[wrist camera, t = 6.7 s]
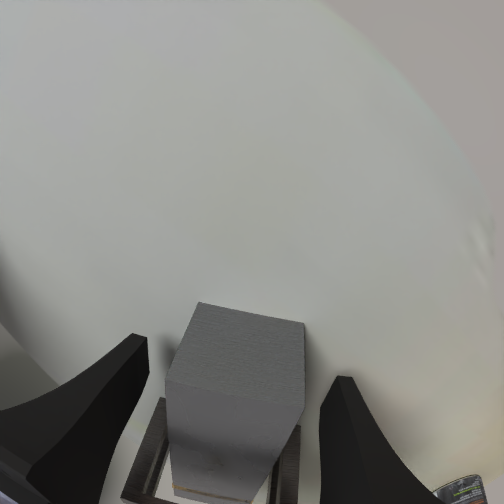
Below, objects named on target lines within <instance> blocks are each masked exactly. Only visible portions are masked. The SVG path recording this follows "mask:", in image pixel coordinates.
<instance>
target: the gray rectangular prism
mask: <svg viewBox="0 0 504 504" xmlns="http://www.w3.org/2000/svg"><path fill="white" fill-rule="evenodd" d="M165 392H166V411H167V426H168V439H169V450H170V461H171V470H172V479H173V483H172V487H173V488H174V495H175V496H179V497H183V498H187V499H191V500H195V501H199V502H204V503H209V504H252V502H253V500H254V497H255V496H256V494H257V492H258V491H259V489H260V488H261V486H262V484H263V483H264V481H265V479H266V478H267V476H268V474H269V473H270V471H271V469H272V467H273V466H274V464H275V462H276V460H277V459H278V457H279V455H280V453H281V452H282V450H283V448H284V446H285V444H286V442H287V441H288V439H289V437H290V435H291V433H292V431H293V429H294V427H295V426H296V424H297V422H298V420H299V418H300V416H301V414H302V412H303V410H304V408H305V360H304V323H301V322H295V321H290V320H284V319H279V318H274V317H268V316H263V315H258V314H253V313H248V312H243V311H238V310H234V309H229V308H224V307H220V306H215V305H210V304H206V303H201V302H198V305H197V307H196V309H195V311H194V314H193V316H192V318H191V320H190V323H189V325H188V327H187V329H186V332H185V334H184V336H183V339H182V341H181V343H180V345H179V348H178V350H177V352H176V355H175V357H174V359H173V362H172V364H171V366H170V368H169V371H168V373H167V376H166V378H165Z"/></svg>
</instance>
